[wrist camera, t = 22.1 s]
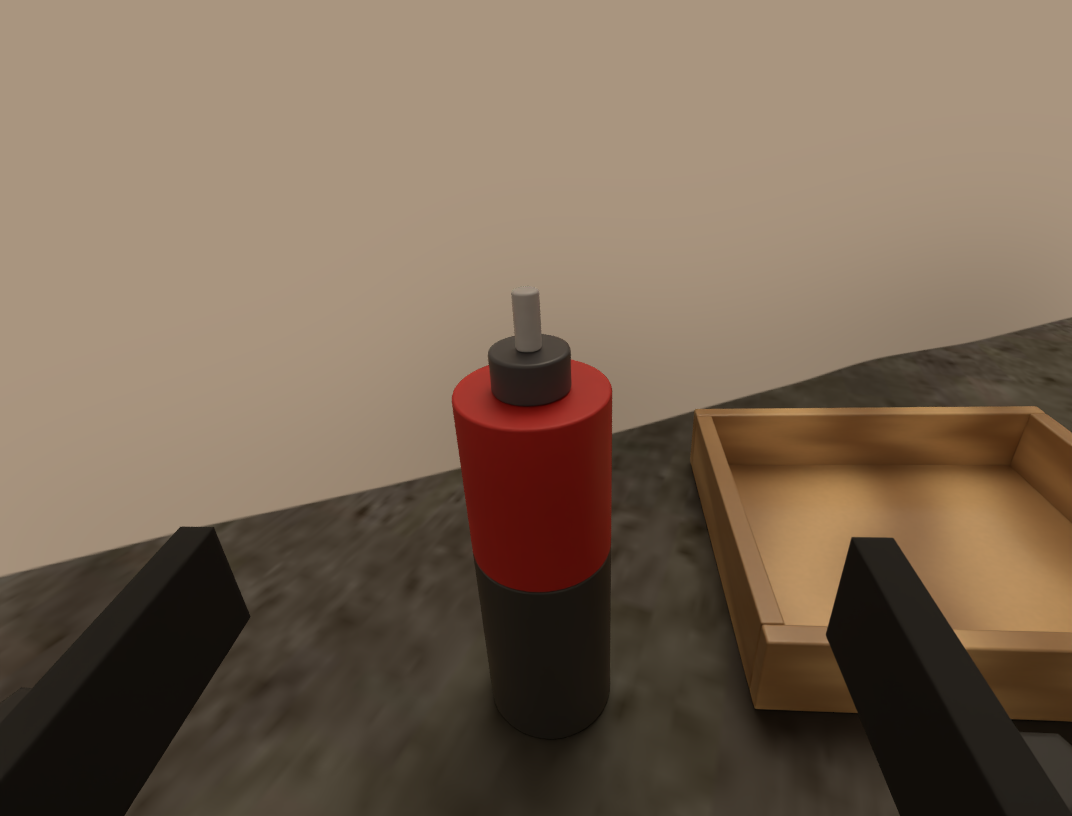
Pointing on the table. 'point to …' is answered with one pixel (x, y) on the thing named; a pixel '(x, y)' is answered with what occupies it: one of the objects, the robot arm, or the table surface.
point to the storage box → (894, 512)
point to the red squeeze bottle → (540, 523)
